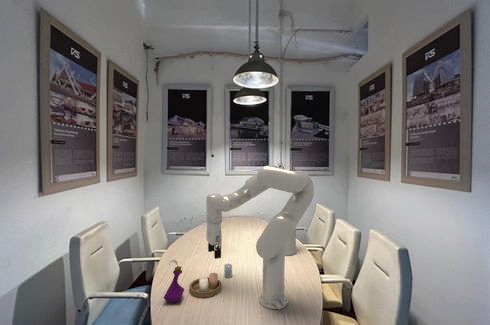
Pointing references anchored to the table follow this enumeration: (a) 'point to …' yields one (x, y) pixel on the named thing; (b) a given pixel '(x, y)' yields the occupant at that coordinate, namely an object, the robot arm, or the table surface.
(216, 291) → the groove tray
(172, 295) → the perfume bottle
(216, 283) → the bead terracotta
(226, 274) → the bead slate
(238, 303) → the table surface
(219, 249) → the robot arm
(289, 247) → the cylinder vase
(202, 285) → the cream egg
